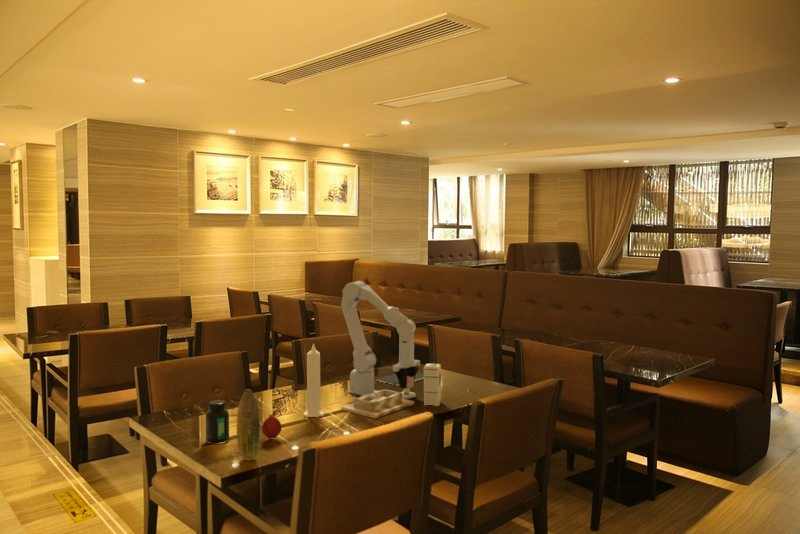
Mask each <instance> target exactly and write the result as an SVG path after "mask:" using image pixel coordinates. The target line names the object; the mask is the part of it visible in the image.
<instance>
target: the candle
mask: <svg viewBox="0 0 800 534" xmlns="http://www.w3.org/2000/svg"><path fill="white" fill-rule="evenodd" d="M306 387H307V388H306V395H307V396H306V397H307V399H306V400H307V402H306V403H307V405H306V406H307V407H306V408H307V409H306V410H305V411H304V412H303V417H305V416H307V417H318V418H320V417H319V416H322V417H323V416H325V411H324V410H321V353H320V351H318V350H317V349H316V346H315V343H312V346H311V349H310V350H309V351H308V352H307V353H306ZM307 417H306V418H307Z"/></svg>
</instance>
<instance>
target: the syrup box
mask: <svg viewBox="0 0 800 534" xmlns="http://www.w3.org/2000/svg"><path fill="white" fill-rule="evenodd" d="M441 366H442V364H441V363H425V365H424V366H423V373H424V379H423V406H427V405H435V406H434V407H440V405H441V402H442V367H441Z"/></svg>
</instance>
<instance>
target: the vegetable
mask: <svg viewBox="0 0 800 534" xmlns="http://www.w3.org/2000/svg"><path fill="white" fill-rule="evenodd" d="M260 425H261V424H260V413H259V404H258V400H257V398H256V396H255V395H254V393H253V391H252V390H251V389H250V388H249V389H248V388H246V389H244V391H243V392H242V395H241V398H240V400H239V404H238V411H237V416H236V439H237V447H238V452H239V454H240V456H241V458H242V459H244V460H245V459H252V458H253V459H255V458H256V456H257V455H258V452H259V446H260V428H261V427H260ZM254 457H255V458H254ZM253 459H252V460H253Z"/></svg>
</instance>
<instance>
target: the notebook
mask: <svg viewBox="0 0 800 534" xmlns="http://www.w3.org/2000/svg"><path fill="white" fill-rule="evenodd" d="M421 380H424V372H419V371H417V373H416V375H415V378H414V383H415V382H417V381H421ZM377 381H379V382H378V383H382V382H383V383H382V384H386V383H388V384H387V385H391V384H392V385H391V386H394V385H396V386H395V387H399V381H398V378H397V376H396V374H395V373H393V374H390V375H385V376H382V377H377V378H376V379H375V382H377Z"/></svg>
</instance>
